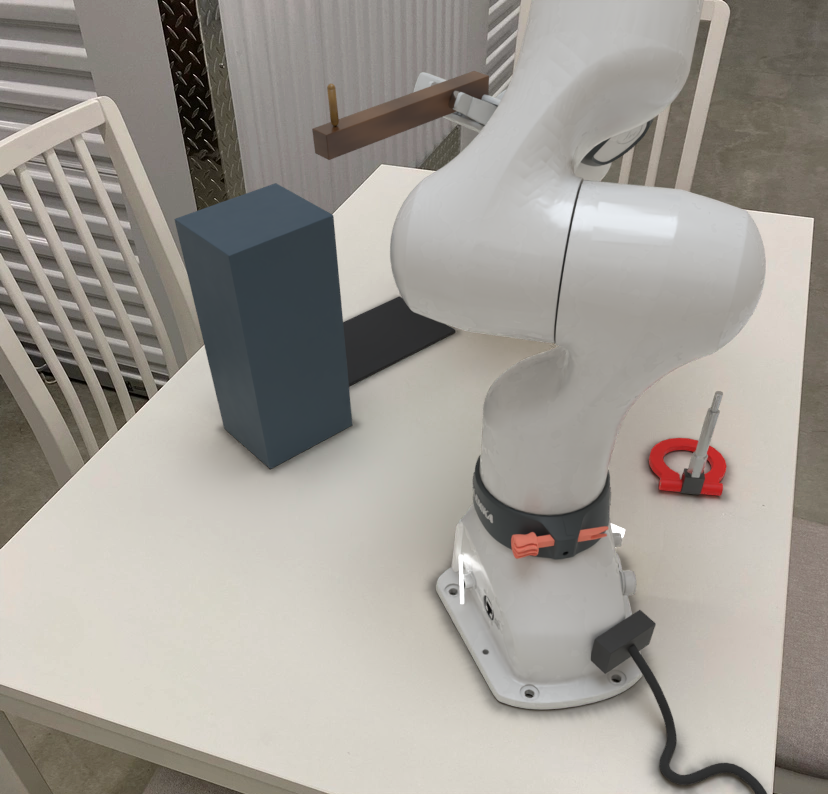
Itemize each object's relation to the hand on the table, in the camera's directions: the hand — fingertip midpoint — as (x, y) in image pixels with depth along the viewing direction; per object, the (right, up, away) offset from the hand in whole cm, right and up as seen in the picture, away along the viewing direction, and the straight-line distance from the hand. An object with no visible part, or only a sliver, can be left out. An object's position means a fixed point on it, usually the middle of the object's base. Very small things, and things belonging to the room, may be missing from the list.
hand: (442, 94), depth 87 cm
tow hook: (+28, -39, +6) cm, 49 cm away
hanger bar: (-4, -4, -1) cm, 5 cm away
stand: (-18, -34, +12) cm, 40 cm away
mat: (-9, -20, +24) cm, 33 cm away
